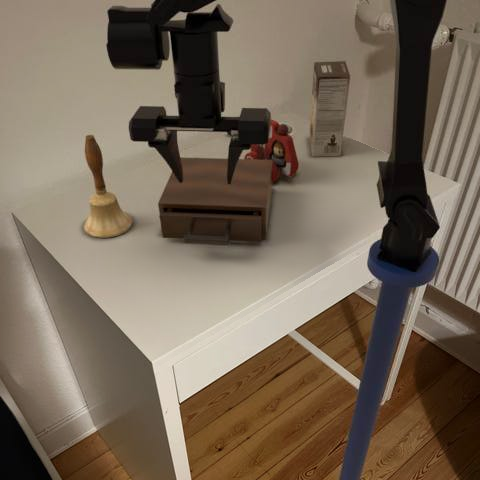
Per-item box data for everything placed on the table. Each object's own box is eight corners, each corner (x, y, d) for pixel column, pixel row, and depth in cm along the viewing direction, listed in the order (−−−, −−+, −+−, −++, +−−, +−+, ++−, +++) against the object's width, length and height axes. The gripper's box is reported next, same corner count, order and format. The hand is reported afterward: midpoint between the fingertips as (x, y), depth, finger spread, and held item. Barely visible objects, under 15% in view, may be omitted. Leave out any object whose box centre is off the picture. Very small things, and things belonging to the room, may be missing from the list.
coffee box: (308, 138, 113) (313, 60, 102) (336, 138, 112) (345, 60, 101) (311, 157, 106) (317, 76, 95) (342, 156, 106) (351, 75, 95)
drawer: (258, 258, 79) (258, 234, 76) (156, 253, 81) (152, 230, 78) (268, 194, 93) (268, 172, 90) (181, 191, 95) (178, 170, 92)
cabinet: (265, 239, 84) (266, 207, 80) (162, 235, 86) (157, 203, 82) (272, 190, 96) (273, 159, 92) (181, 187, 98) (178, 157, 94)
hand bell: (124, 208, 93) (106, 121, 82) (138, 230, 87) (121, 140, 76) (79, 220, 90) (55, 132, 79) (91, 243, 85) (66, 152, 74)
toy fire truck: (279, 190, 96) (280, 136, 89) (239, 167, 103) (237, 116, 96) (305, 178, 99) (309, 126, 92) (264, 157, 106) (265, 107, 99)
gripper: (274, 50, 69) (272, 159, 79) (140, 49, 70) (156, 156, 81) (268, 78, 60) (267, 195, 71) (117, 76, 62) (138, 190, 73)
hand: (205, 182), depth 74 cm, fingers open, 7 cm apart
